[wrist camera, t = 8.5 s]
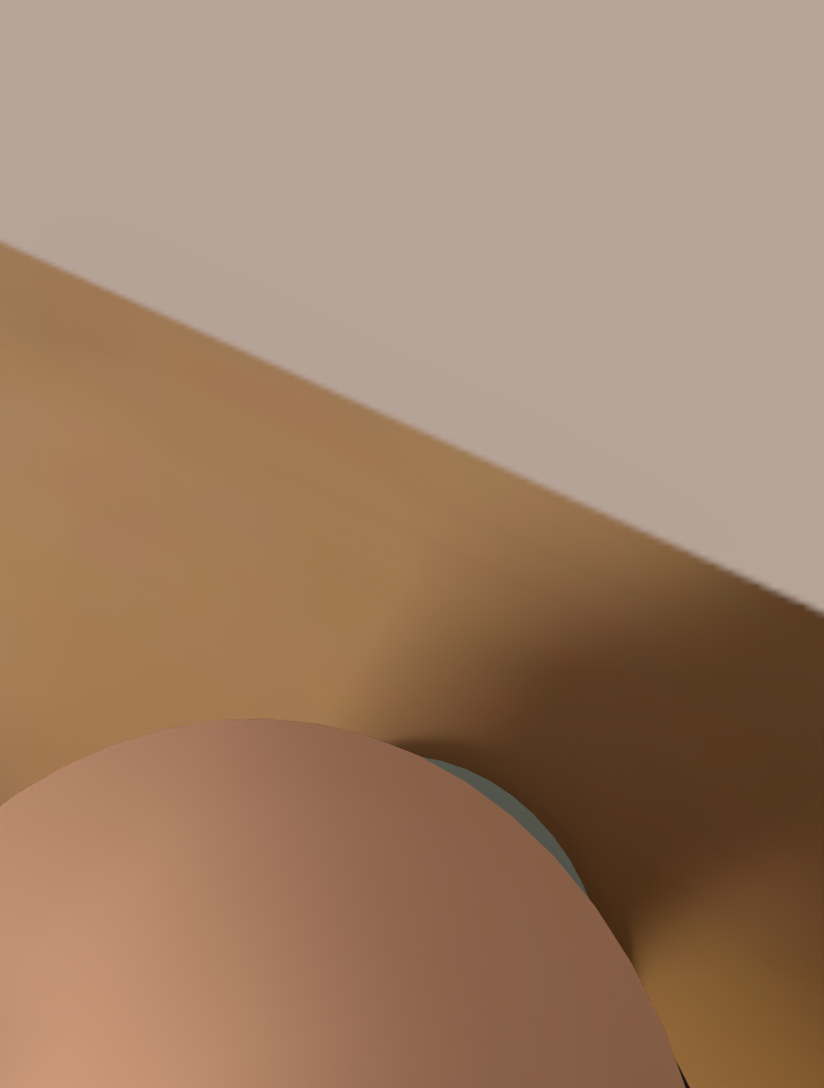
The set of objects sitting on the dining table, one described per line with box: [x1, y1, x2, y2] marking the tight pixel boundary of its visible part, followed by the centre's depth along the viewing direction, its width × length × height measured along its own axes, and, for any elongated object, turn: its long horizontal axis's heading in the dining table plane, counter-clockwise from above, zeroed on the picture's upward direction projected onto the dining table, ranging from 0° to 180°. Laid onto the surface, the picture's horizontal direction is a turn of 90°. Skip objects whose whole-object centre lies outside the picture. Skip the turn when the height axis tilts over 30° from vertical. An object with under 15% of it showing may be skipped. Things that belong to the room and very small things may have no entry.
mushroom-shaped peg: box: [0, 719, 685, 1088], centre depth 9 cm, size 6×6×11 cm
